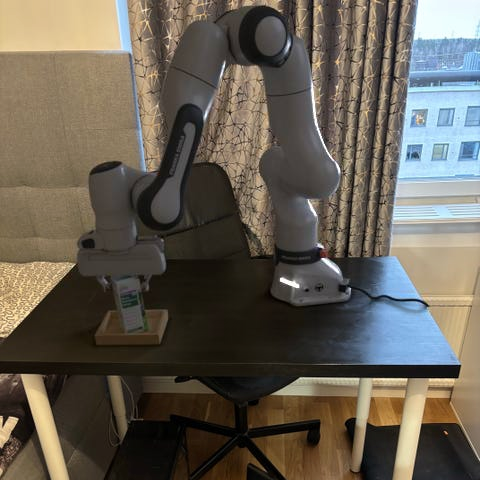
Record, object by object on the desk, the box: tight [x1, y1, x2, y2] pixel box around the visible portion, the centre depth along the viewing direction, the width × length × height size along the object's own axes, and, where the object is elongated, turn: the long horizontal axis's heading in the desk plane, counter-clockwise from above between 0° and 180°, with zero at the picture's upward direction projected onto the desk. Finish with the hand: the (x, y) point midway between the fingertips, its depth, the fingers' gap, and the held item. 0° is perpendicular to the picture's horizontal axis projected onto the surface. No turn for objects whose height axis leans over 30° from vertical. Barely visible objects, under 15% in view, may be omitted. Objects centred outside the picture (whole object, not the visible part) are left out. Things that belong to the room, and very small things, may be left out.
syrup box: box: [109, 275, 148, 334], centre depth 122 cm, size 6×6×14 cm
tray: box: [94, 309, 169, 346], centre depth 125 cm, size 16×13×3 cm
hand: (126, 290), depth 120 cm, fingers open, 8 cm apart
